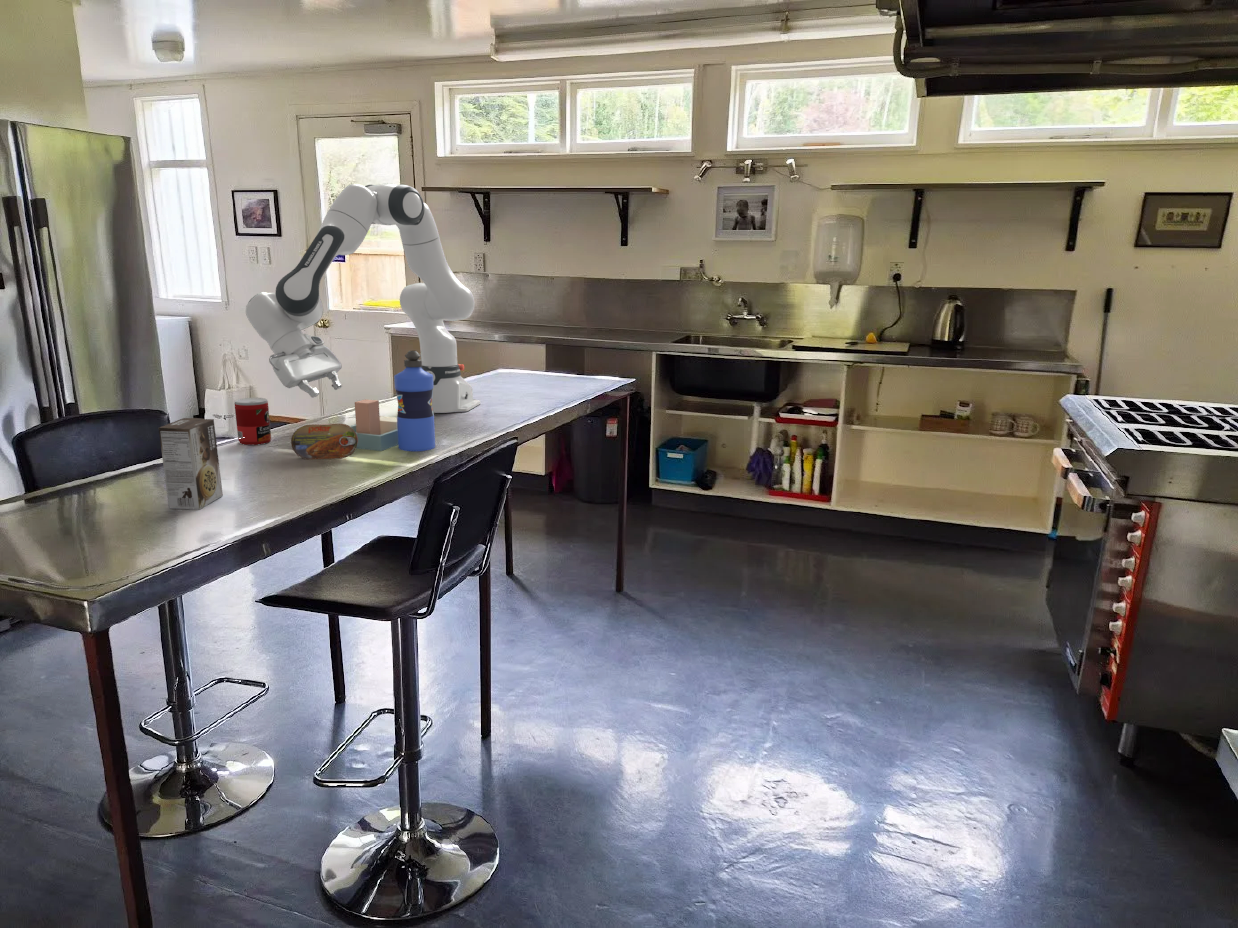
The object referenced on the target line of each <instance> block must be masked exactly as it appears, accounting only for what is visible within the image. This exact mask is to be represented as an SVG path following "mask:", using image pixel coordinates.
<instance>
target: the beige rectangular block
mask: <svg viewBox="0 0 1238 928" xmlns="http://www.w3.org/2000/svg"><path fill="white" fill-rule="evenodd" d="M396 429H398V428H397V417H396V416H395V417H394V416H385V415H380V431H381V434H384V433H387V432H390V431H393V430H396Z"/></svg>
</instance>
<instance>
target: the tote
mask: <svg viewBox="0 0 1238 928" xmlns="http://www.w3.org/2000/svg"><path fill="white" fill-rule="evenodd" d="M349 426H350V427H351V428H352V429H353V430H354V431H355V432H356V423H355V424H352V425H349ZM356 434H357V438H358V443H357V447H356V449H359V450H369V451H377V452H383V451H385V450H389V449H391V448H393V447H396V446H398V429H396V430H393V431H390V432H387V433H384V434H381V435H374V434H364V433H357V432H356Z"/></svg>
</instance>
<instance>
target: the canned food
mask: <svg viewBox="0 0 1238 928" xmlns="http://www.w3.org/2000/svg"><path fill="white" fill-rule="evenodd" d="M233 405H234V413H235V422H236V429H237V430H236V431H237V440H238V442H240V443H239V444H241V445H243V444H244V445H243V446H258V444H260V445H265V444H264V443H266V444H268V443H270V442H271V440H272V434H271V433H272V431H271V421H270V410H269V409H270V407H269V400H268V398H263V397H243V398H238V399H236V400H234V404H233ZM243 437H245V438H243ZM239 438H241V439H239Z"/></svg>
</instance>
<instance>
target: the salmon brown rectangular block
mask: <svg viewBox="0 0 1238 928" xmlns="http://www.w3.org/2000/svg"><path fill="white" fill-rule="evenodd" d="M354 412H355V414H354V415H355V424H356V432H357V433H364V434H374V435H381V431H380V416H381V415H380V402H379V400H378V399H376V400H375V399H365V398H364V399H362V400H359V401H354Z"/></svg>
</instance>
